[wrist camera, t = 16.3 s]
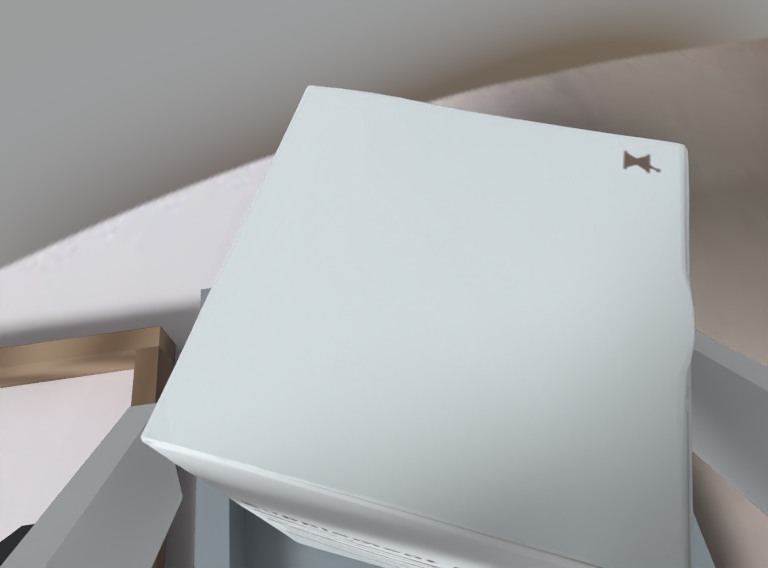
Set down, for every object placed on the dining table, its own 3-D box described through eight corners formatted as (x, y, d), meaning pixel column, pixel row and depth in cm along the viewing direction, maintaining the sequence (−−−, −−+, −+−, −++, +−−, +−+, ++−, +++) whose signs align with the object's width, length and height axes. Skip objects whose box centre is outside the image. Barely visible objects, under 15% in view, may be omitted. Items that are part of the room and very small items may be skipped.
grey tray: (563, 277, 29) (582, 237, 26) (714, 690, 20) (770, 704, 17) (222, 324, 28) (200, 289, 25) (221, 781, 19) (187, 812, 16)
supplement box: (351, 337, 26) (304, 67, 13) (545, 382, 25) (703, 131, 12) (284, 543, 22) (113, 440, 9) (515, 612, 20) (716, 610, 7)
